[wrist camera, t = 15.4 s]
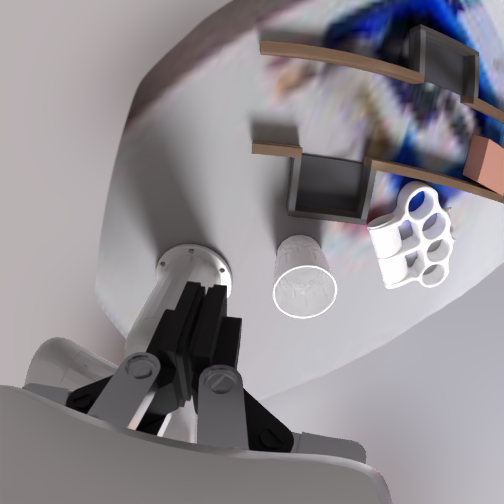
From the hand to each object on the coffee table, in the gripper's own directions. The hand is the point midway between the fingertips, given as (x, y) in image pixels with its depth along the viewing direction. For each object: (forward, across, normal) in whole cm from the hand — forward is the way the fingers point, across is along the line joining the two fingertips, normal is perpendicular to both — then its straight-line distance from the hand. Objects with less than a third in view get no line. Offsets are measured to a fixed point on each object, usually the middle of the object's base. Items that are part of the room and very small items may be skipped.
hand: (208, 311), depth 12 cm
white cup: (+29, -8, +12) cm, 33 cm away
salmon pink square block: (+29, -37, -8) cm, 48 cm away
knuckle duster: (+30, -26, +7) cm, 40 cm away
